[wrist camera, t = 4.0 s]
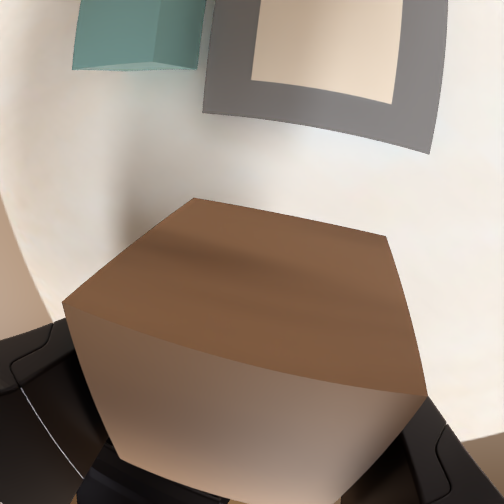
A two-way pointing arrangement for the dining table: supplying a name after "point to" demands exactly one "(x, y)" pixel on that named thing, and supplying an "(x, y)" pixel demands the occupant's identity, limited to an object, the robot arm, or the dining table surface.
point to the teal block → (138, 35)
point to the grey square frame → (331, 65)
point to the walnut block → (250, 353)
